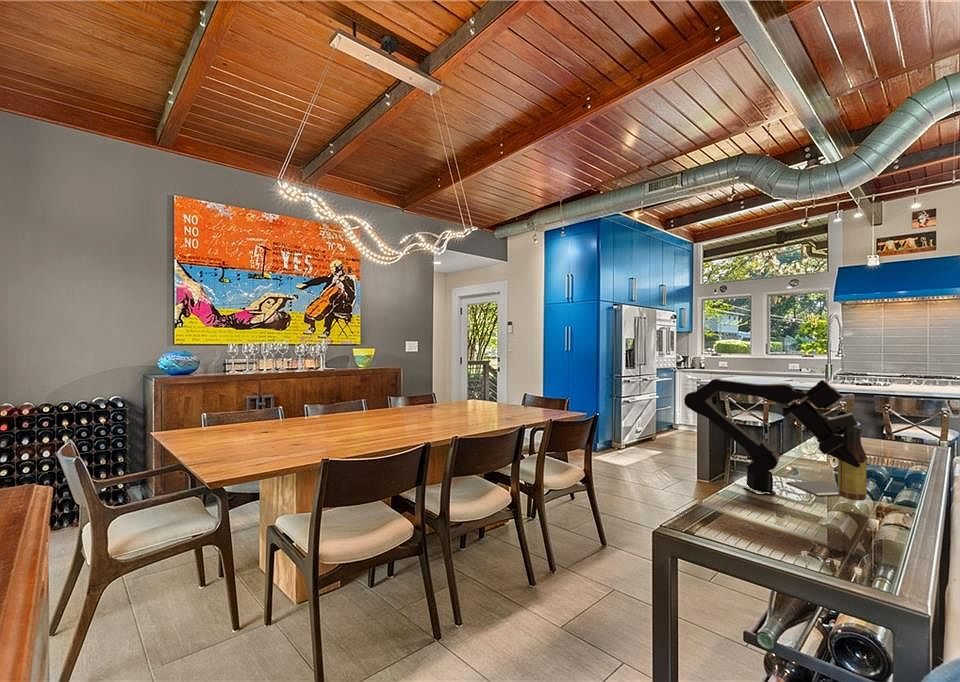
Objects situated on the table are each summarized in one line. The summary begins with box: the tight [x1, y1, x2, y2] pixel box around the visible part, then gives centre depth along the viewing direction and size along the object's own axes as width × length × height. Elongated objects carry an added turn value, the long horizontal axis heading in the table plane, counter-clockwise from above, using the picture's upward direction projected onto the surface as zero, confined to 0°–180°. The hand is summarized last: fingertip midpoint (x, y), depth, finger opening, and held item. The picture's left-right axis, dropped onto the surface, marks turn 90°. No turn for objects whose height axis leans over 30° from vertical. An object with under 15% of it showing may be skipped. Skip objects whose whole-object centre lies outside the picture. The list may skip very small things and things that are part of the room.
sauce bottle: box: [837, 426, 868, 501], centre depth 126 cm, size 7×6×20 cm
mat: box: [786, 480, 841, 497], centre depth 144 cm, size 14×12×1 cm
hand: (859, 464), depth 125 cm, fingers closed on sauce bottle, 6 cm apart
